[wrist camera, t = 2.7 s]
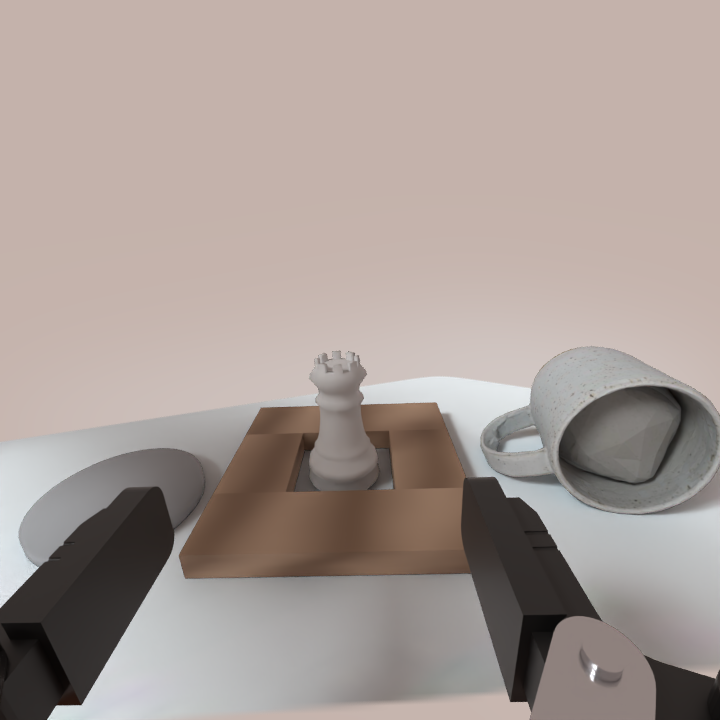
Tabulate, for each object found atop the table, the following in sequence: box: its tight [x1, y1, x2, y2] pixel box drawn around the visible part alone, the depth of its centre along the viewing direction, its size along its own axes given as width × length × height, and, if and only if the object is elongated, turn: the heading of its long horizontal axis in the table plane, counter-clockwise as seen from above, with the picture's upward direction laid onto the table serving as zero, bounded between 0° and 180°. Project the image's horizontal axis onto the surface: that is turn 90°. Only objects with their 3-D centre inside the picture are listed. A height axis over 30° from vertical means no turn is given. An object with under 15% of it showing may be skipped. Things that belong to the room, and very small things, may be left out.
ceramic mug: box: [480, 347, 720, 514], centre depth 22 cm, size 11×8×8 cm
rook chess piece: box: [309, 351, 380, 491], centre depth 22 cm, size 4×4×8 cm
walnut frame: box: [179, 403, 471, 578], centre depth 23 cm, size 14×14×1 cm
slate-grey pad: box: [19, 448, 205, 567], centre depth 22 cm, size 9×9×1 cm
